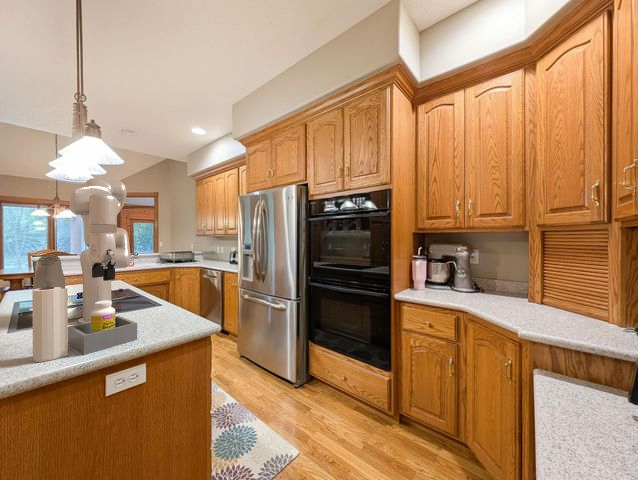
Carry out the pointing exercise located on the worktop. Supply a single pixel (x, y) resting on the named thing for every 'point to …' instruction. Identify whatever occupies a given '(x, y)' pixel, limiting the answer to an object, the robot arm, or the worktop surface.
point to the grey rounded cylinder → (49, 273)
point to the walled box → (101, 336)
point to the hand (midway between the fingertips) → (103, 278)
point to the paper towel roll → (50, 323)
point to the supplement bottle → (102, 316)
